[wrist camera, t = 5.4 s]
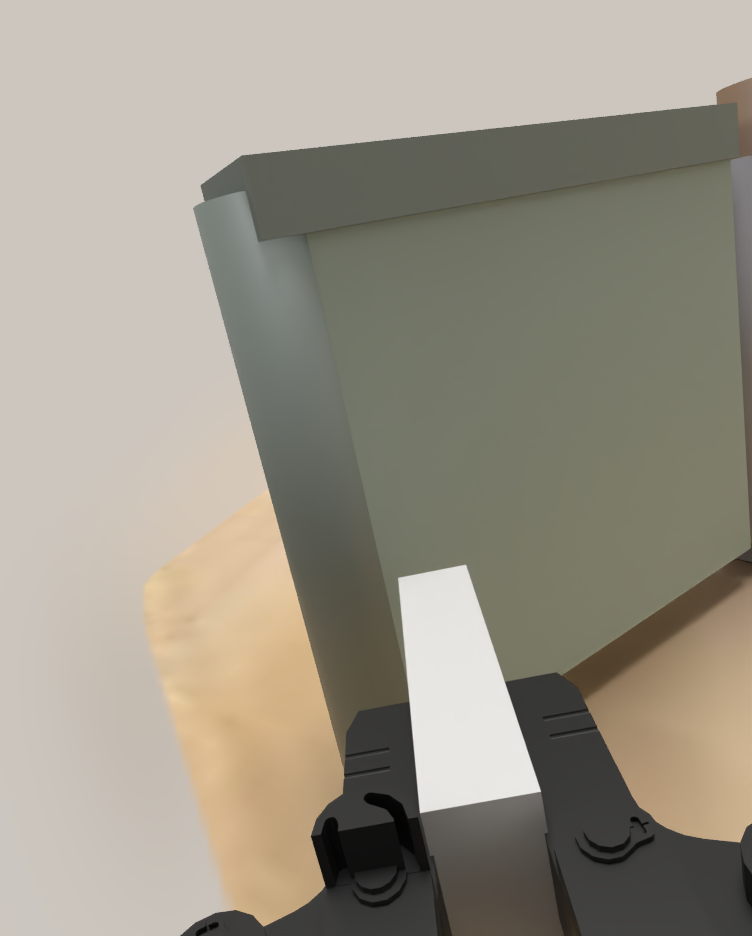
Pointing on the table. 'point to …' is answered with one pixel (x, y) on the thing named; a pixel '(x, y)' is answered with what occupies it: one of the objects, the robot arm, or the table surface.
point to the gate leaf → (495, 376)
